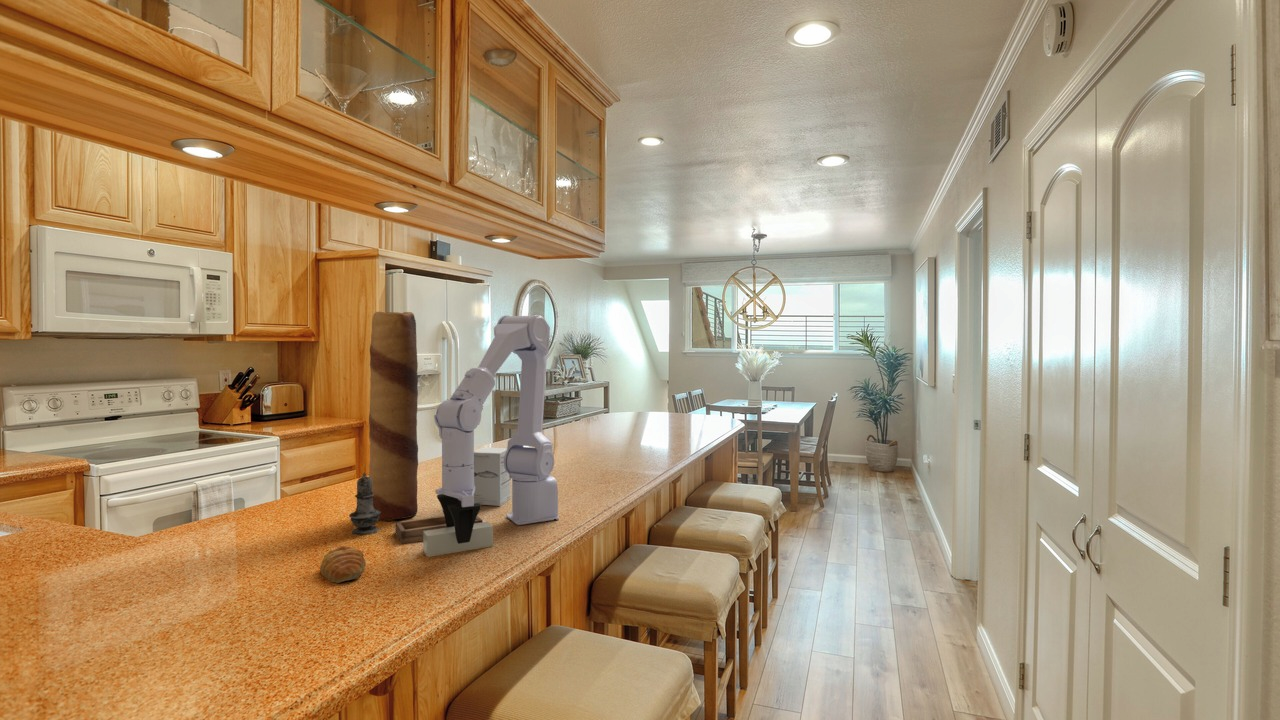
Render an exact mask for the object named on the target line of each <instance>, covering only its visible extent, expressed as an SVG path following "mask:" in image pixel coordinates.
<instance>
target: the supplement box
mask: <svg viewBox="0 0 1280 720" xmlns="http://www.w3.org/2000/svg"><path fill="white" fill-rule="evenodd" d="M506 451H507V447H506V448H505V447H502V448H501V447H480V448H478V449H475V450H474V486H475V492H474V504H475V503H479V504H481V506H495V507H501V506H503V505H504V504H506V503H507V502H508V501H509V500H512V495H511V494H512V492H511V491H512V478H509V473H507V472H506V470H505V468H504V456H505V453H506Z"/></svg>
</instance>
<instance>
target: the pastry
mask: <svg viewBox="0 0 1280 720" xmlns="http://www.w3.org/2000/svg"><path fill="white" fill-rule="evenodd" d="M366 563H367V561H366V560H365V557H364V552H362V551H361V550H360V549H359V548H358V549H357V548H354V546H349V545H341V546H338V547H336V548H334V549H331V550H329V551H328V552H327V553H326V554H325V555H324V557H323V559H322V562H321V564H320V567H319V570H320V572H321V575H322V576H323V577H324V578H325V579H326V580H327V581H329V582H331V583H336V584H339V583H342V582H345V581H350V580H358V579H359V577H360V576H361V574H363V573H364V572H365V567H366Z"/></svg>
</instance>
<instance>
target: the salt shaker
mask: <svg viewBox="0 0 1280 720" xmlns="http://www.w3.org/2000/svg"><path fill="white" fill-rule="evenodd" d="M366 475H367V474H366V472H363V474H362V476H361V477H359V478H358V479H357V480H356V481H357V482H356V494H355V495H354V497H355V498H356V507H355V511H354V512H351V513H349V515H348V517H349V518H350V521H351V523H352V525H353V526H355V527H354V528H353V529H352V530H351V531H350V534H351V535H352V536H353V535H354V536H368V535H373V534H376V533H377V531H378V532H379V531H380V528H379V527H378V526H375V525H376V523H377V522H378V521H379V520H378V518H379V514H380V513H381V512H380V511H378V510H375V509H374V507H373V496H374V493H372V479H371V478H369V476H366ZM375 532H376V533H375ZM372 533H373V534H372ZM367 534H368V535H367Z"/></svg>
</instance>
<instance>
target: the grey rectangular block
mask: <svg viewBox="0 0 1280 720" xmlns="http://www.w3.org/2000/svg"><path fill="white" fill-rule="evenodd" d="M422 546H423V552H424V555H426V557H427V558H430V557H435V556H442V555H448V554H454V553H460V552H465V551H466V552H467V551H472V550H477V549H478V550H479V549H485V548H490V546H491V547H493V546H494V526H493V525H492V524H491V523H490V522H489V521H482V523H475V524H474V526H473V530H472V535H471V539H470V542H467V543H460V544H458V542H457V539H456V534H455V527H447V528H441V529H434V530H427V531H423V542H422Z"/></svg>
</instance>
